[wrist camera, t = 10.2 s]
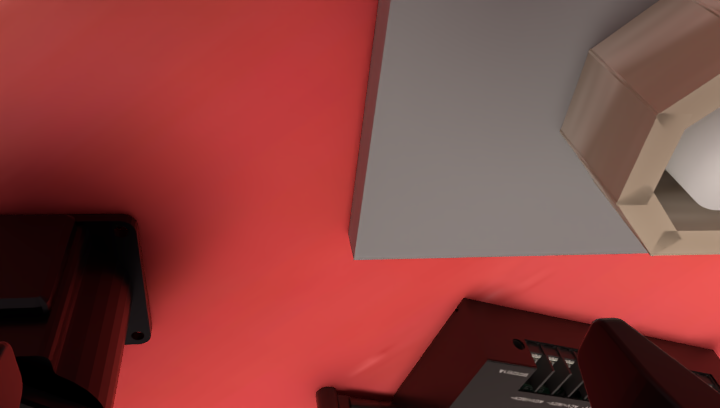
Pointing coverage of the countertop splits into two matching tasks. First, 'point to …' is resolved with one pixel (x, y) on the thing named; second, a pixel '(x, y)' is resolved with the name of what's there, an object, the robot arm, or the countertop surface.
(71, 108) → the countertop surface
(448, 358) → the wireless controller
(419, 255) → the post board
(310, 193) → the countertop surface
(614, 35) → the ring
